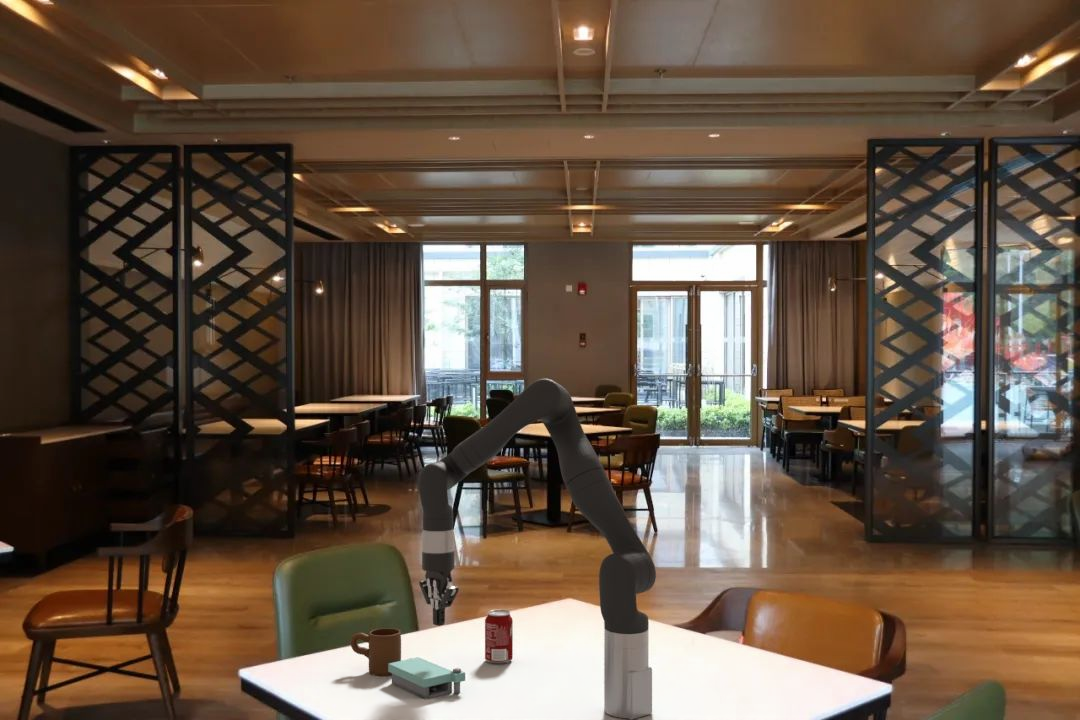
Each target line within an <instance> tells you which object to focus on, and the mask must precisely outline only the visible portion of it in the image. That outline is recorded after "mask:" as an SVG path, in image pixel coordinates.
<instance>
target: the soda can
mask: <svg viewBox="0 0 1080 720" xmlns="http://www.w3.org/2000/svg"><path fill="white" fill-rule="evenodd" d="M513 622H514V621H513V617H512V616H511V612H510V611H509V610H507V609H492V610H489V611H487V615H486V617H485V619H484V659H485V661H486V662H488V663H490V664H493V665H504V664H507V663H509V662H510V661H512V660H513V657H514V656H513V647H514V646H513V640H514V639H513V638H514V637H513V624H514V623H513Z"/></svg>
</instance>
